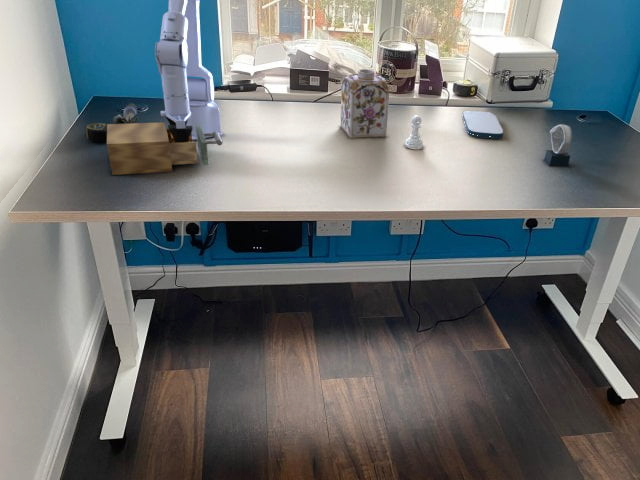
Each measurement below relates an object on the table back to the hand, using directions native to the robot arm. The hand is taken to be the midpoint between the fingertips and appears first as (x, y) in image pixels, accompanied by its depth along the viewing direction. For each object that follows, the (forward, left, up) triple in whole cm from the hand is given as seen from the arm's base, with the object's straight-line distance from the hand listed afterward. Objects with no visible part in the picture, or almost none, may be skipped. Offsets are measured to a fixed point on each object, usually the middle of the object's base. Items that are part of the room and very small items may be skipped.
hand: (181, 148), depth 152 cm
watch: (-86, +57, -3) cm, 103 cm away
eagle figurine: (+1, -29, -3) cm, 30 cm away
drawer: (-1, 0, -2) cm, 3 cm away
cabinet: (+9, -4, -3) cm, 10 cm away
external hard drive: (-93, +24, -3) cm, 96 cm away
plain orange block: (0, 0, -1) cm, 1 cm away
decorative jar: (-56, +7, -3) cm, 56 cm away
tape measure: (+10, -24, -3) cm, 27 cm away
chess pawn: (-60, +25, -3) cm, 65 cm away
